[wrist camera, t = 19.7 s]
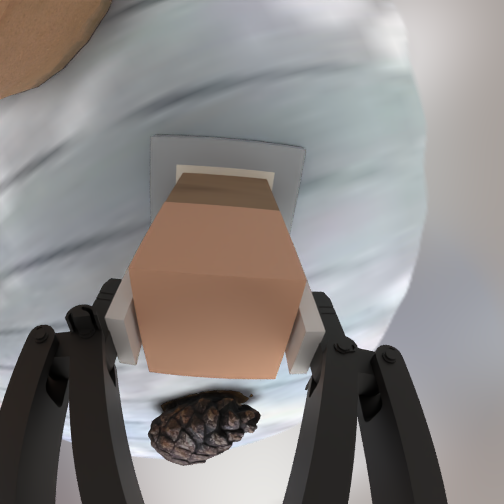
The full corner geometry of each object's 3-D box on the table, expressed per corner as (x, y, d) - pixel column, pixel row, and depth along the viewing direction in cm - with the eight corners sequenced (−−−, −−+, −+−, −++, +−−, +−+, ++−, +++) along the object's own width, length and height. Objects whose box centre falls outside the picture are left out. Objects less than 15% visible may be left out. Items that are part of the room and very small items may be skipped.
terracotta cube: (263, 299, 18) (274, 379, 12) (167, 292, 17) (149, 371, 12) (279, 210, 14) (306, 280, 9) (164, 201, 14) (128, 268, 9)
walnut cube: (256, 250, 23) (263, 299, 18) (181, 245, 22) (168, 293, 17) (266, 179, 20) (280, 211, 14) (182, 172, 19) (164, 202, 14)
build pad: (278, 270, 25) (280, 277, 24) (156, 261, 24) (153, 268, 23) (302, 147, 20) (306, 150, 19) (154, 134, 18) (150, 136, 17)
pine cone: (267, 396, 37) (275, 456, 29) (189, 426, 42) (187, 474, 34) (217, 369, 33) (216, 441, 24) (141, 404, 38) (133, 457, 29)
